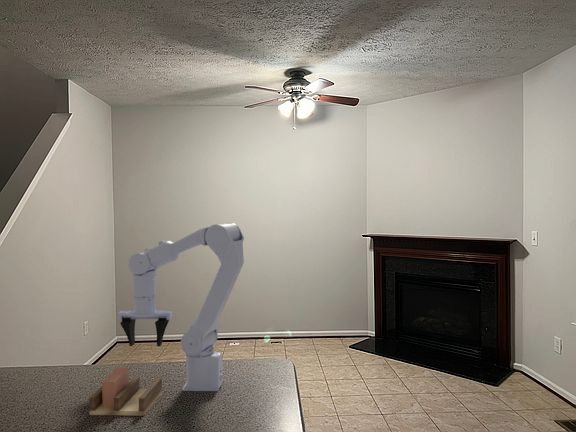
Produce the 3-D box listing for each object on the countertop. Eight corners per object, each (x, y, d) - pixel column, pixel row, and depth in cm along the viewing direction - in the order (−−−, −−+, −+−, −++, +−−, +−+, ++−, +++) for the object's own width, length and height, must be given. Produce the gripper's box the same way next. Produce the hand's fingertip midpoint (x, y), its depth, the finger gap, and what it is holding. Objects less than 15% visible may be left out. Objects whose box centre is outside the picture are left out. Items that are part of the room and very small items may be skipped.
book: (129, 390, 123) (128, 367, 123) (115, 407, 113) (115, 381, 113) (117, 390, 123) (116, 367, 123) (102, 407, 113) (102, 382, 113)
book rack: (162, 393, 124) (161, 377, 124) (144, 415, 111) (143, 398, 111) (113, 392, 125) (112, 377, 124) (89, 414, 112) (89, 397, 112)
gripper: (175, 293, 137) (175, 341, 137) (124, 293, 137) (125, 340, 138) (167, 298, 130) (168, 348, 130) (114, 298, 130) (115, 348, 131)
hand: (145, 345), depth 133 cm, fingers open, 7 cm apart
